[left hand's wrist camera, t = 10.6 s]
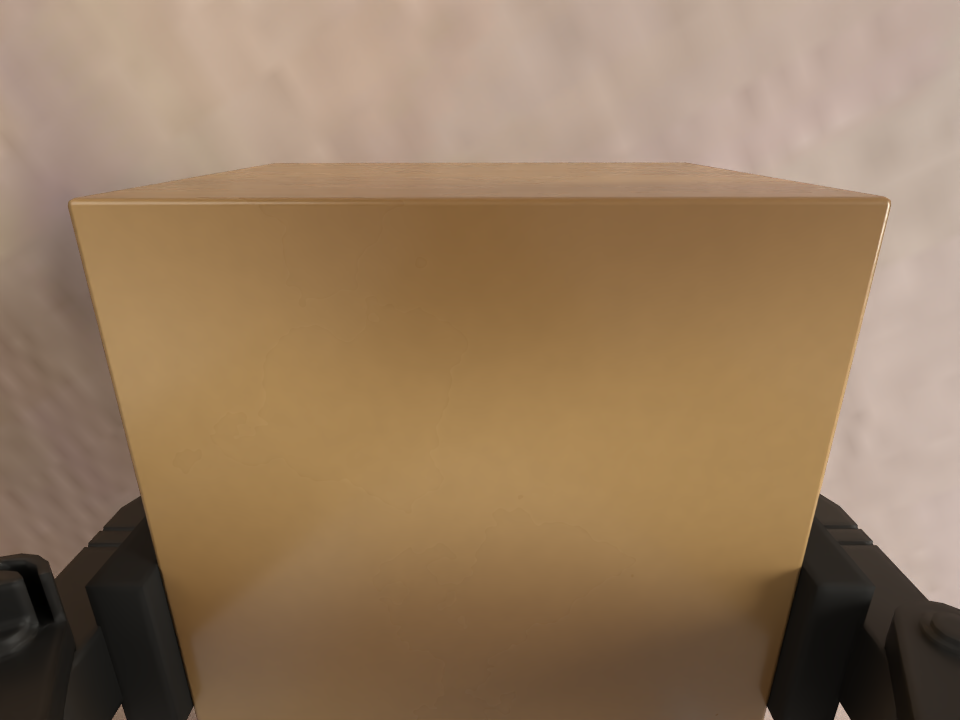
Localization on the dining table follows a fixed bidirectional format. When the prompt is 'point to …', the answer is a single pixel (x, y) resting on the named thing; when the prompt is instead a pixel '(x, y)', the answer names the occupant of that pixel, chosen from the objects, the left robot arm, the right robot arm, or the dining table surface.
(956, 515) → the dining table surface
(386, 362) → the slab
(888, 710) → the left robot arm
